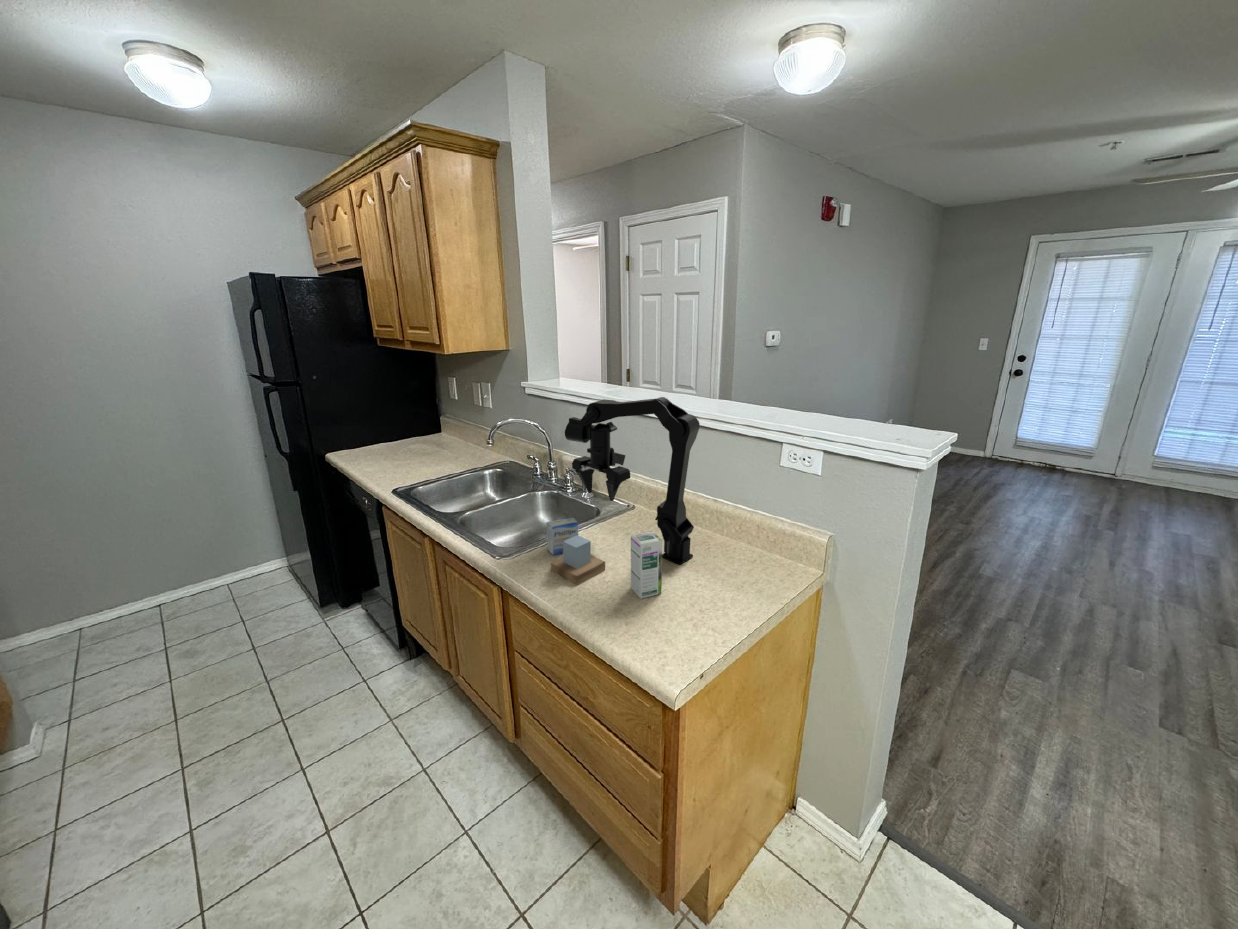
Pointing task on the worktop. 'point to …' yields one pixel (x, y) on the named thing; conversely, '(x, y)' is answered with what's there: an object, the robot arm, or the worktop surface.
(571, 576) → the walnut block
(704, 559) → the worktop surface
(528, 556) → the worktop surface
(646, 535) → the syrup box
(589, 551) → the slate block
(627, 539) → the worktop surface
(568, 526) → the medicine box
